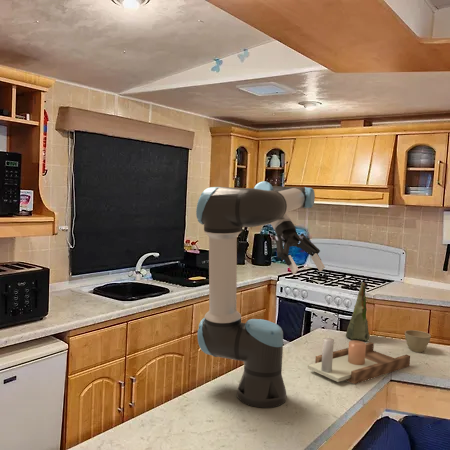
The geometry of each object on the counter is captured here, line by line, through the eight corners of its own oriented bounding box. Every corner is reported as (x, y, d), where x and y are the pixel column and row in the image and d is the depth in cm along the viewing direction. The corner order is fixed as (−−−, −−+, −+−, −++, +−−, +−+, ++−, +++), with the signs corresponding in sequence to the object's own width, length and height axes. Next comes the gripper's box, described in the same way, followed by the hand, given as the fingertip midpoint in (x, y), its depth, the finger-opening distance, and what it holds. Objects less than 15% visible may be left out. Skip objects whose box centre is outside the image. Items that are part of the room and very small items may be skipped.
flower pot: (425, 356, 191) (427, 339, 190) (400, 350, 197) (401, 333, 196) (432, 350, 199) (433, 333, 198) (407, 344, 205) (408, 328, 204)
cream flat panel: (337, 382, 158) (339, 346, 158) (308, 368, 169) (309, 335, 168) (382, 368, 173) (384, 335, 172) (352, 356, 184) (353, 325, 183)
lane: (354, 384, 160) (355, 372, 160) (315, 366, 175) (315, 356, 174) (409, 366, 179) (410, 355, 179) (369, 351, 194) (370, 342, 193)
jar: (349, 364, 172) (350, 345, 171) (346, 358, 178) (347, 340, 177) (366, 365, 171) (367, 346, 170) (362, 358, 177) (363, 340, 176)
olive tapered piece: (359, 333, 218) (362, 279, 216) (377, 341, 207) (381, 285, 205) (339, 335, 214) (342, 280, 212) (356, 344, 203) (360, 286, 201)
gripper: (300, 231, 194) (326, 274, 183) (253, 232, 179) (278, 279, 168) (311, 219, 189) (338, 262, 178) (263, 219, 174) (289, 266, 163)
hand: (309, 270), depth 173 cm, fingers open, 13 cm apart
